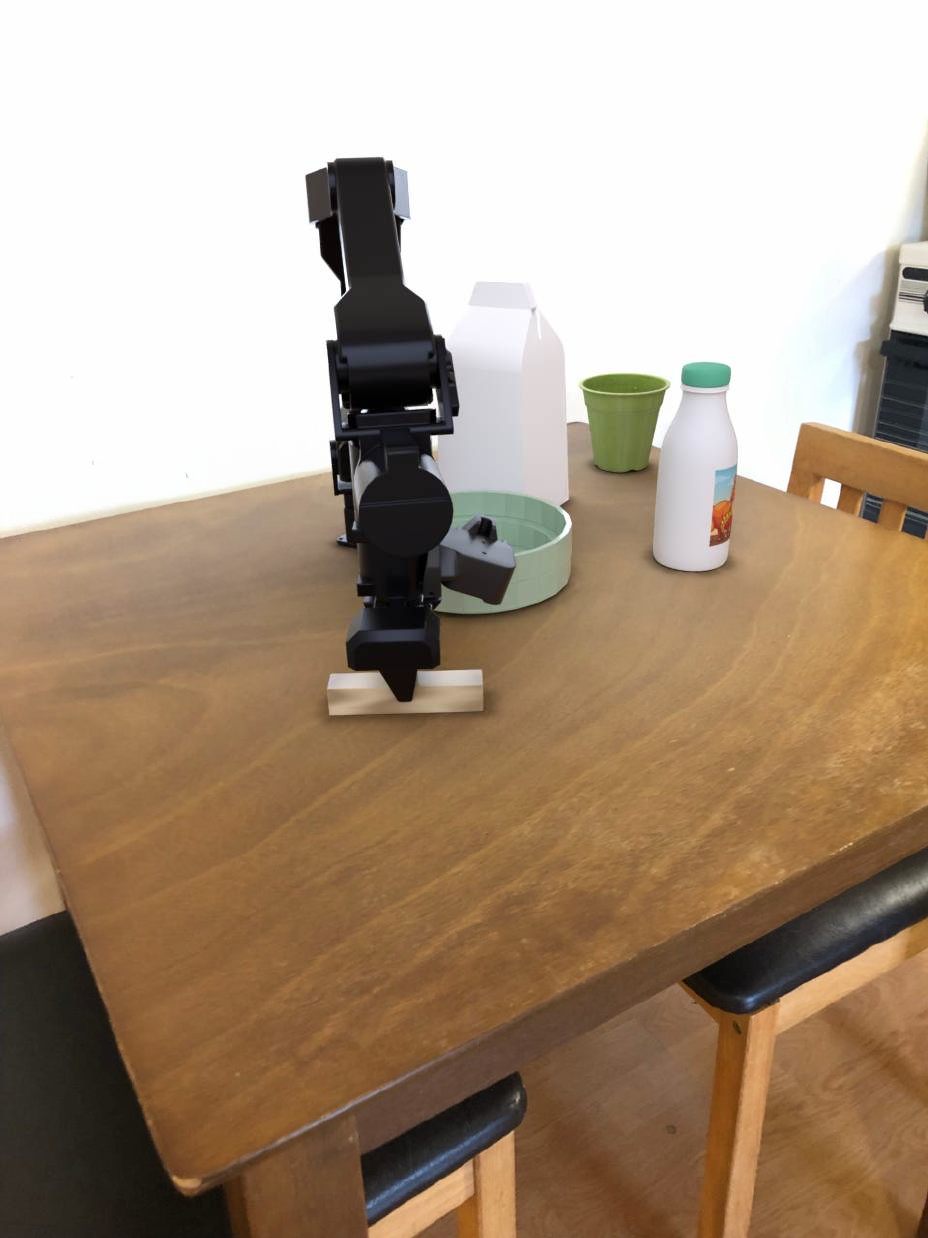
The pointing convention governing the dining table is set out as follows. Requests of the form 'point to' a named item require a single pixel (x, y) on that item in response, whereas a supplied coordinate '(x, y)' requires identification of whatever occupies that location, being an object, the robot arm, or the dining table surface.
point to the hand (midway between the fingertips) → (406, 692)
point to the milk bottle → (697, 474)
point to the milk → (507, 397)
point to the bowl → (517, 547)
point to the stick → (429, 694)
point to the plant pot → (623, 417)
